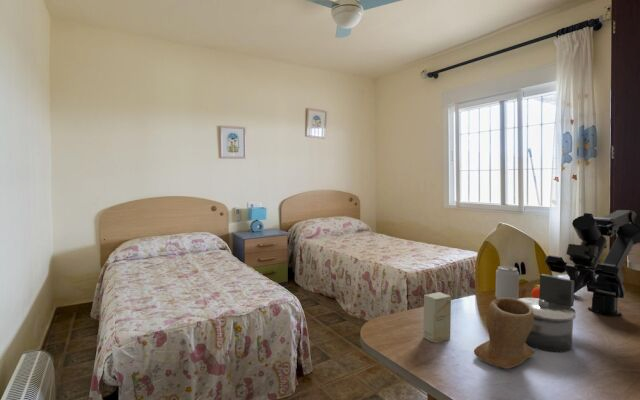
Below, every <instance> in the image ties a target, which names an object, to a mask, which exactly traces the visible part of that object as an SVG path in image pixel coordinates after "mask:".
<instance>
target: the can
mask: <svg viewBox="0 0 640 400" xmlns="http://www.w3.org/2000/svg"><path fill="white" fill-rule="evenodd" d="M519 286H520V272H519V270H518V268H517V267H515V266H510V265H509V266H508V265H500V266H497V269H496V270H495V294H494V295H495V296H494V297H495V299H496V298H501V297H509V298H514V299H519V292H520V291H519V289H520V287H519Z"/></svg>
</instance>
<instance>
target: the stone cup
mask: <svg viewBox="0 0 640 400" xmlns="http://www.w3.org/2000/svg"><path fill="white" fill-rule="evenodd" d="M518 299H519V298H518ZM518 299H514V298H509V297H501V298H496V297H495V299H493V300H492V301H491V302H490V303H489V306H488V308H487V315H486V327H487V332H488V337H489V340H487V341H485V342H484V343H481V344H479V345H477V346H476V347H475V348H474V349H473V354H474V355H475V356H476V357H477V358H478V359H480V360H481V361H483V362H485V363H486V364H489V365H491V366H494V367H496V368H500V369H511V368H514V367H517V366H519V365H521V364H522V363H524V362H525V361H526V360H528V359H529V358H531V357H532V356H533V355H534V354H535V351H534V348H532V347H529V346H528V345H527V344H526V343H525V341H526V339H527V337H528V335H529V333H530V331H531V329H532V326H533V321H534V312H533V310H532V308H531V307H530V306H529V305H527V304H526V303H524V302H522V301H520V300H518Z"/></svg>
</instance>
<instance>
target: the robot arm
mask: <svg viewBox="0 0 640 400" xmlns="http://www.w3.org/2000/svg"><path fill="white" fill-rule="evenodd" d="M571 224H572V227H573V229H574V231H575V234H576V235H577V237H578V239H579V240H581V242H580V244H575V243H568V245H567V249H566V253H565V254H566V255H567V256H569V260H570V261H567V260H566V261H565V260H564V258H563V257H562V256H556V255H551V254H550V255H547V256H546V258H545V260H544V262H545V264H546V265H547V268H548V269H549V270H550V271H551V272H553V273H558V274H563V273H566V274H567V276H568V277H569V279H570V280H574V294H575V293H578V292H579V291H580V290H581V289H583V288H585V287H586V291H587V292H589V293H592V298H591V306H590V307H587V310H589V311H591V312H594V313H598V314H600V315H603V316H605V317H609V316H611V317H612V316H621V315H623V312H620V311H618V300H619V299H624V298H625V294H626V289H625V286H624V284H623V283H624V280H625V277H624V275H623V273H622V271H621V269H622V267H623V265H624V264H625V262H626V260H627V258H628V256H629V254H630V252H631V250H632V248H633V247H634V245H637V244H639V243H640V216H639V215H637V213H636V212H635V211H633V210H628V209H627V210H626V209H617V210H614V211H613V212H612V213H609V214H606V215H604V216H594V214H593V213H588V212H584V213H583V215H579V216H577V217H576V218H575V219H573V220H572V223H571ZM615 235H616V239H615V240H614V242H613V244H612V246H611V248H610V249H609V252H608V253H607V255H606V256H605V258H604V260H603V262H602V263H601V261H602V258H601V256H602V254H603V251H604V250H605V249H607V247H608V246H607V242H608V241H607V239H606V237H609V238H610V237H614V236H615Z"/></svg>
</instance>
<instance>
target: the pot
mask: <svg viewBox="0 0 640 400" xmlns="http://www.w3.org/2000/svg"><path fill="white" fill-rule="evenodd" d="M573 329H574V319H573V320H570V321H549V320H543V319H538V318H534V321H533V326H532V329H531V331H530V333H529V335H528V337H527V339H526V341H525V343H526V344H527V345H528V346H529V347H531V348H532V349H536V350H538V351H544V352H549V353H567V352H569V351H571V350H572V349H573V331H574V330H573Z"/></svg>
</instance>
